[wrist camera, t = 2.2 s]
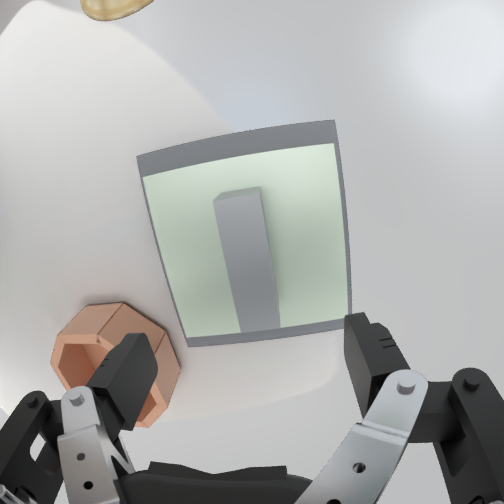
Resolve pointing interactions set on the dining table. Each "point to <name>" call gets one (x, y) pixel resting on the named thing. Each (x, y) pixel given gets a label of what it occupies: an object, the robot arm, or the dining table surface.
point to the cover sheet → (289, 233)
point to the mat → (238, 147)
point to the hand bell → (112, 8)
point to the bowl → (106, 338)
